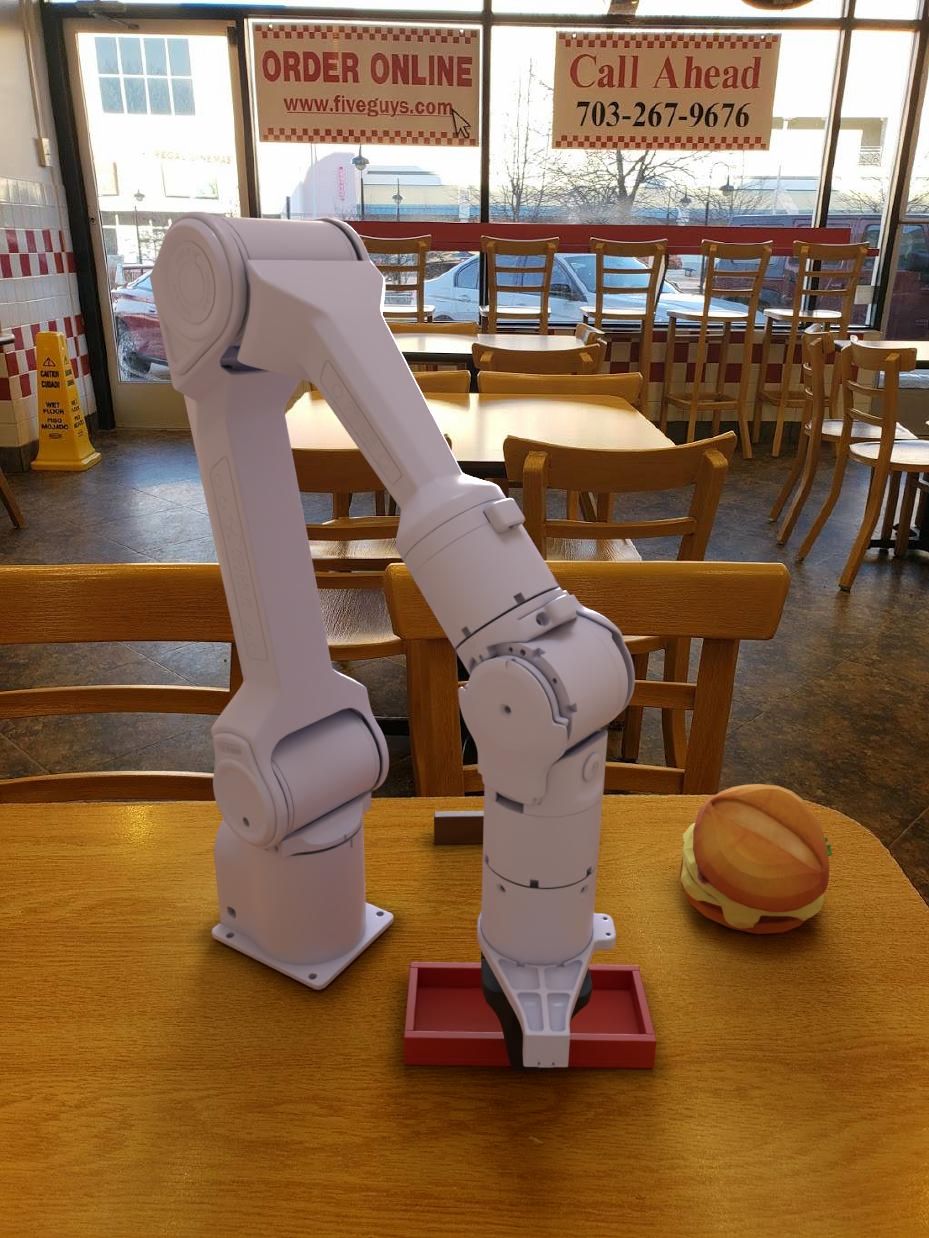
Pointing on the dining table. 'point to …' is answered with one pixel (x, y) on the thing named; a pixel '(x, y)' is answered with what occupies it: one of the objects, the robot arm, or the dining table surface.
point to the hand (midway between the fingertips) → (529, 1061)
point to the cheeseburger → (756, 860)
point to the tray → (472, 1034)
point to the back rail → (458, 827)
